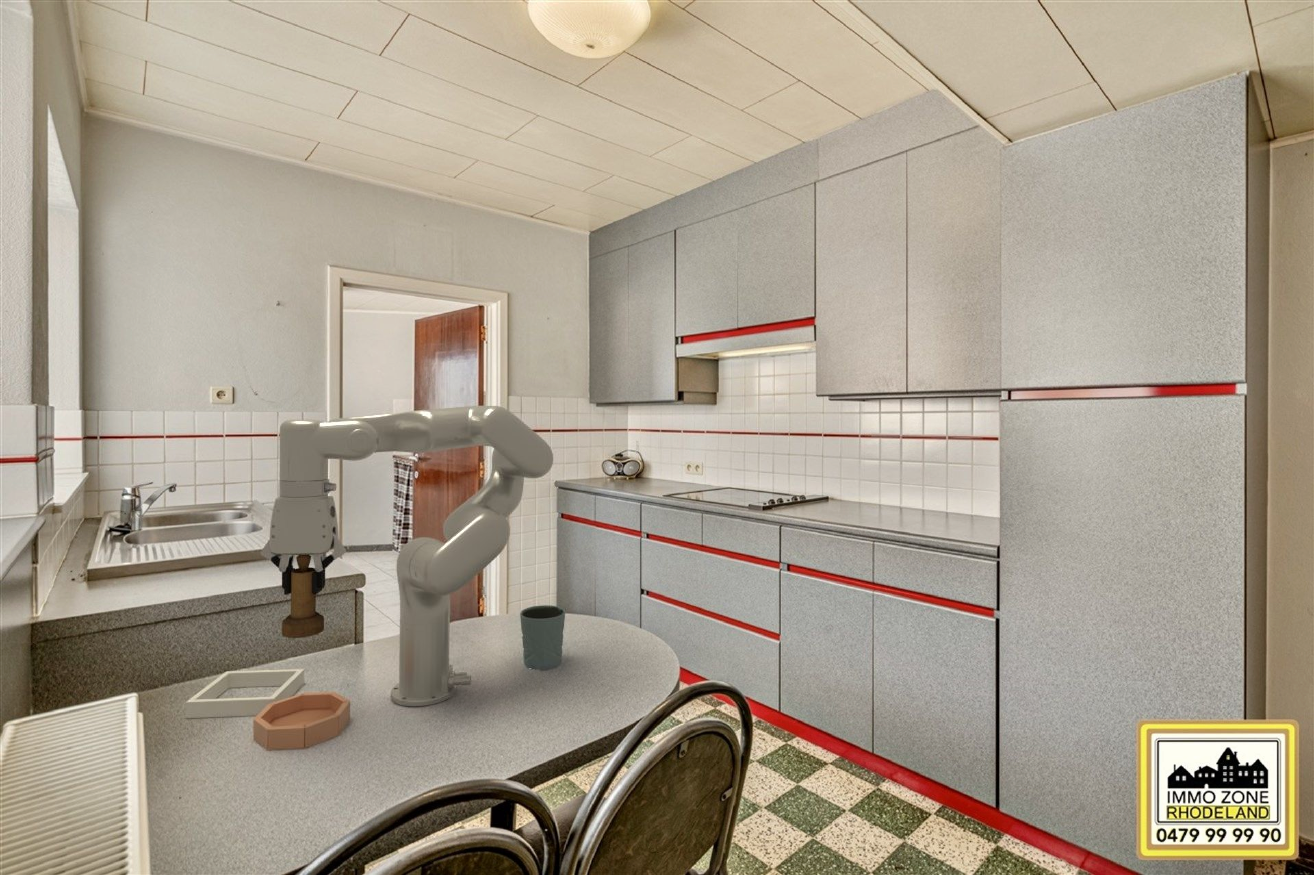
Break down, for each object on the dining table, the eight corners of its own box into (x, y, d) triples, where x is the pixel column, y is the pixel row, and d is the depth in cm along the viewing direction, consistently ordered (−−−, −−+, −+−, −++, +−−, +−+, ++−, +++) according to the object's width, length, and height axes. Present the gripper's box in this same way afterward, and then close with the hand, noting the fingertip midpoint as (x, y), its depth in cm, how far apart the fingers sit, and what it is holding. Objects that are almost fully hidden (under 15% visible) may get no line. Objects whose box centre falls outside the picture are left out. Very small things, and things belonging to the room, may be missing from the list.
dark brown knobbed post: (305, 640, 109) (305, 535, 108) (272, 636, 110) (273, 533, 110) (332, 627, 115) (333, 529, 115) (301, 624, 117) (301, 527, 116)
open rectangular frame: (304, 683, 132) (304, 669, 132) (273, 714, 118) (273, 699, 118) (226, 685, 130) (226, 671, 130) (185, 718, 116) (185, 702, 116)
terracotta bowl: (357, 709, 121) (357, 691, 121) (330, 747, 108) (330, 727, 108) (278, 712, 120) (278, 694, 119) (241, 751, 106) (241, 730, 106)
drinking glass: (573, 661, 148) (574, 610, 147) (543, 675, 139) (544, 621, 139) (540, 651, 153) (541, 602, 153) (509, 665, 145) (510, 612, 144)
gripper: (360, 487, 117) (360, 586, 118) (263, 486, 115) (263, 587, 115) (346, 492, 109) (346, 597, 110) (242, 492, 107) (242, 599, 108)
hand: (303, 591), depth 113 cm, fingers closed on dark brown knobbed post, 3 cm apart
